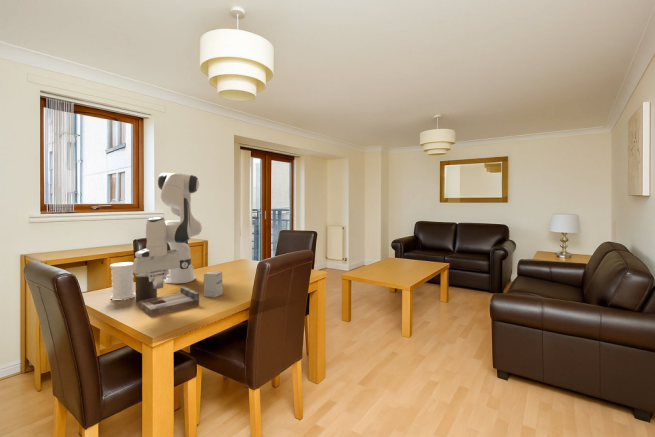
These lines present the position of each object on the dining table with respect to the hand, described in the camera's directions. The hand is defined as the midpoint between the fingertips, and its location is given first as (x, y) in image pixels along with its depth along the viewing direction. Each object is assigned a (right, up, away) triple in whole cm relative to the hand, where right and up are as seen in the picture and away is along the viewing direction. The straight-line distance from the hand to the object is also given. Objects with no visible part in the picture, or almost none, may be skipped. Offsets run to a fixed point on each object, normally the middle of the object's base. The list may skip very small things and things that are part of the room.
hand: (157, 280), depth 159 cm
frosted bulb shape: (0, -4, 0) cm, 4 cm away
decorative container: (-28, -13, +19) cm, 36 cm away
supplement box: (+19, -13, +23) cm, 32 cm away
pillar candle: (-12, -13, +13) cm, 22 cm away
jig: (+3, -14, +5) cm, 15 cm away
